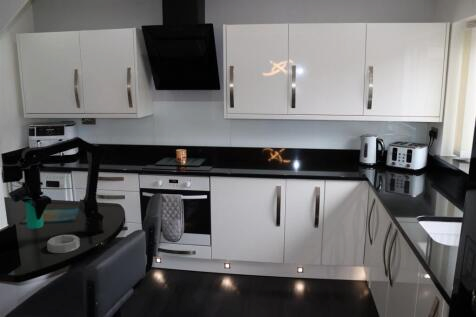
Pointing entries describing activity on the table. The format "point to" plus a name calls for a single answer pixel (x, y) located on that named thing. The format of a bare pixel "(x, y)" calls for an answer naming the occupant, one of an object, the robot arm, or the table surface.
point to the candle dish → (63, 244)
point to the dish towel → (58, 216)
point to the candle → (32, 217)
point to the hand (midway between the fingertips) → (34, 217)
